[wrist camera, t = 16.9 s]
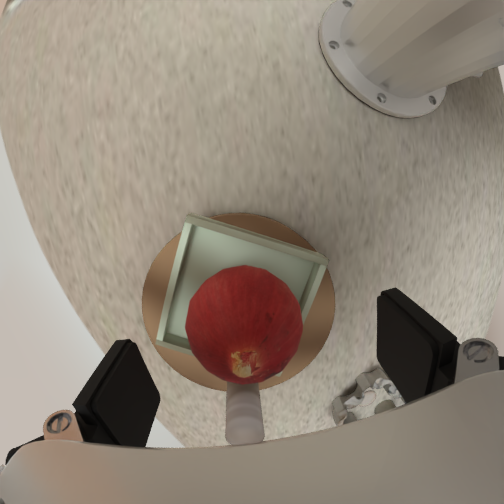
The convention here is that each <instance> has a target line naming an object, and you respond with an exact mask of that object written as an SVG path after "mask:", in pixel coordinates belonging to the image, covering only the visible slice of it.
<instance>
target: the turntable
mask: <svg viewBox="0 0 504 504" xmlns="http://www.w3.org/2000/svg"><path fill="white" fill-rule="evenodd" d="M328 262H329V259H327V258H326V257H325V256H323V255H322V254H320V253H317V252H316V250H315V249H314V248H313V247H312V246H311V245H310V244H309V243H308V242H307V241H306V240H305V239H303V238H302V237H301V236H300V235H298V234H297V233H296V232H294V231H293V230H291V229H290V228H288V227H287V226H285V225H283V224H281V223H280V222H277V221H275V220H272V219H270V218H267V217H263V216H259V215H255V214H247V213H228V214H222V215H216V216H213V217H210V218H207V217H203V216H200V215H197V214H193V213H190V214H188V215H187V216H186V220H185V223H184V227H183V230H182V232H181V233H179V234H178V235H177V236H176V237H174V238H173V239H172V240H171V241H170V242H169V243H168V244H167V245H166V246H165V247H164V248H163V249H162V250H161V251H160V253H159V254H158V255H157V257H156V258H155V260H154V262H153V263H152V265H151V267H150V269H149V272H148V274H147V276H146V280H145V283H144V287H143V295H142V313H143V319H144V323H145V327H146V330H147V333H148V335H149V337H150V340H151V342H152V344H153V345H154V347H155V348H156V350H157V352H158V353H159V354H160V355H161V357H162V358H163V359H164V360H165V361H166V362H167V363H168V364H169V365H170V366H171V367H172V368H173V369H174V370H176V371H177V372H178V373H180V374H181V375H182V376H184V377H186V378H187V379H189V380H191V381H193V382H195V383H197V384H200V385H202V386H205V387H208V388H211V389H215V390H221V391H227V396H226V430H225V438H226V440H227V441H228V442H229V443H230V444H231V445H238V444H247V443H255V442H262V441H263V440H264V437H265V434H264V426H263V418H262V410H261V401H260V393H259V390H262V389H266V388H269V387H272V386H275V385H278V384H280V383H282V382H284V381H286V380H288V379H290V378H292V377H293V376H295V375H296V374H298V373H299V372H300V371H302V370H303V369H304V368H305V367H306V366H308V365H309V364H310V362H311V361H312V360H313V359H314V358H315V357H316V356H317V354H318V353H319V352H320V350H321V349H322V347H323V345H324V344H325V342H326V340H327V338H328V336H329V333H330V330H331V328H332V324H333V319H334V313H335V294H334V288H333V283H332V280H331V277H330V274H329V271H328V269H327V265H328ZM241 265H248V266H253V267H257V268H262V269H266V270H267V271H269V272H270V273H272V274H273V275H275V276H276V277H278V278H279V279H281V280H282V281H283V282H285V283H286V284H287V285H288V287H289V288H290V290H291V291H292V293H293V294H294V296H295V297H296V299H297V300H298V303H299V305H300V309H301V315H302V321H303V332H302V335H301V339H300V343H299V346H298V350H297V352H296V353H295V355H294V356H293V357H292V359H291V360H290V362H289V363H288V364H287V366H286V367H285V368H284V370H283V371H282V372H280V373H278V374H276V375H275V376H273V377H271V378H269V379H267V380H265V381H263V382H260V383H253V384H245V385H241V384H236V383H232V382H227V381H223V380H221V379H220V378H218V377H216V376H215V375H213V374H211V373H210V372H208V371H207V370H206V369H205V368H204V367H203V366H202V365H201V363H200V362H199V361H198V360H197V358H196V357H195V356H194V355H193V353H192V351H191V348H190V344H189V341H188V337H187V334H186V330H185V323H186V318H187V312H188V307H189V302H190V299H191V298H192V297H193V295H194V294H195V293H196V291H197V290H198V289H199V287H200V286H201V285H202V284H203V283H204V281H205V280H206V279H208V278H210V277H211V276H213V275H214V274H216V273H218V272H219V271H221V270H222V269H225V268H230V267H236V266H241Z"/></svg>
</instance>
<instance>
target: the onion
mask: <svg viewBox="0 0 504 504" xmlns="http://www.w3.org/2000/svg"><path fill="white" fill-rule="evenodd" d="M185 330H186V334H187V337H188V341H189V344H190V348H191V351H192V353H193V355H194V356H195V357H196V358H197V360H198V361H199V362H200V363H201V365H202V366H203V367H204V368H205V369H206V370H207V371H208V372H210V373H211V374H213V375H215V376H216V377H218V378H220V379H221V380H223V381H227V382H232V383H236V384H241V385H245V384H253V383H260V382H263V381H265V380H267V379H269V378H271V377H273V376H275V375H276V374H278V373H280V372H282V371H283V370H284V368H285V367H286V366H287V364H288V363H289V362H290V360H291V359H292V357H293V356H294V355H295V353H296V352H297V350H298V346H299V343H300V339H301V335H302V332H303V321H302V315H301V309H300V305H299V303H298V300H297V299H296V297H295V296H294V294H293V293H292V291H291V290H290V288H289V287H288V285H287V284H286V283H285V282H283V281H282V280H281V279H279V278H278V277H276V276H275V275H273V274H272V273H270V272H269V271H267V270H266V269H262V268H257V267H253V266H248V265H241V266H236V267H230V268H225V269H222V270H221V271H219V272H218V273H216V274H214V275H213V276H211V277H210V278H208V279H206V280H205V281H204V283H203V284H202V285H201V286H200V287H199V289H198V290H197V291H196V293H195V294H194V295H193V297H192V298H191V299H190V302H189V307H188V312H187V318H186V323H185Z"/></svg>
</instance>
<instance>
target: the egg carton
mask: <svg viewBox="0 0 504 504" xmlns="http://www.w3.org/2000/svg"><path fill="white" fill-rule="evenodd" d="M356 381H357V383H358V386H357V388H356V390H355V391H354V392H353V393H352V394H350V395H348V396H338V397H337V398H336V399H335V400H333V401H332V404H333V406H334V410H333V411H332V413H333V417H334V421H335V423H336V425H337V426H340V425H344V424H347V423H351V422H354V421H357V419H356V417H355V416H354V414H353V413H352V412H347V409H352V408H354V407H356V406H362V407H363V406H367V405H369V404H371V403H372V402H373V401H374V400H375V399H376V393H375V392H374V391H366V392H364V391H365V390H366V389H367V388H369V387H371V388H372V389H374V388H376V389H380V388H381V387H384V388H385V390H386V391H387V393H388V394H389V395H391V396H393V397H394V399H397V398H400V397H401V399H402V400H403V402H404V403H405V404H406V402H405V401H404V399H403V398H402V396H401V395H400V393H399V391H398V390H397V388H396V387H395V385H394V384H393V382H392V381H391V380H389V378H388V377H387V376H386V374H385V373H384V372H383V371H382V370H381V369H379V368H377V369H376V370H374V371H373V372H370V373H362V374H361V375H359V376H358V377H357V378H356ZM346 408H347V409H346ZM393 408H396V406H395V405H394V403H393V402H392V401H391V400H385V401H383V402H381V403H379V404H378V405H377V406H376V408H375V414H379V413H382V412H385V411H388V410H390V409H393Z"/></svg>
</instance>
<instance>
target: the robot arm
mask: <svg viewBox="0 0 504 504" xmlns="http://www.w3.org/2000/svg"><path fill="white" fill-rule="evenodd" d="M319 42H320V45H321V49H322V52H323V55H324V57H325V59H326V61H327V63H328V65H329V66H330V68H331V69H332V71H333V72H334V74H335V75H336V77H337V78H338V79H339V80H340V81H341V82H342V83H343V84H344V86H345V87H346V88H347V89H348V90H349V91H351V92H352V93H353V94H354V95H355V96H356V97H358V98H359V99H360V100H362V101H363V102H365V103H366V104H368V105H369V106H371V107H372V108H374V109H376V110H379V111H381V112H383V113H385V114H388V115H392V116H395V117H401V118H415V117H420V116H423V115H426V114H429V113H430V112H432V111H434V110H435V109H436V108H437V107H438V106H439V105H440V104H441V103H442V101H443V99H444V97H445V94H446V89H447V85H449V84H452V83H454V82H457V81H460V80H462V79H465V78H467V77H470V76H473V77H477V78H479V77H481V76H482V74H483V71H486V70H489V69H492V68H495V67H498V66H500V65H503V64H504V0H337V1H335V2H334V3H332V4H331V5H330V6H329V7H328V9H327V10H326V11H325V13H324V15H323V17H322V19H321V22H320V26H319ZM378 100H379V101H378ZM377 359H378V361H379V363H380V365H381V366H382V367H383V369H384V370H385V372H386V373H387V375H388V376H389V378H390V379H391V381H392V382H393V384H394V385H395V387H396V388H397V390H398V391H399V393H400V395H401V396H402V398H403V399H404V401H405V402H406V404H404V405H401V406H399V407H396V408H393V409H390V410H388V411H385V412H382V413H379V414H376V415H373V416H370V417H367V418H364V419H361V420H357V421H354V422H351V423H347V424H344V425H340V426H336V427H332V428H328V429H324V430H320V431H316V432H311V433H307V434H302V435H297V436H292V437H287V438H281V439H275V440H269V441H262V442H255V443H247V444H238V445H227V446H214V447H194V448H151V447H145V446H146V443H147V440H148V437H149V434H150V431H151V427H152V424H153V421H154V418H155V415H156V412H157V409H158V406H159V403H160V394H159V392H158V390H157V388H156V386H155V384H154V381H153V379H152V377H151V375H150V373H149V371H148V369H147V367H146V365H145V362H144V360H143V358H142V356H141V353H140V351H139V349H138V347H137V345H136V343H134V342H132V341H131V340H130V339H126V340H116V341H115V343H114V344H113V345H112V347H111V348H110V350H109V351H108V352H107V354H106V355H105V357H104V358H103V360H102V361H101V362H100V364H99V365H98V367H97V368H96V370H95V371H94V373H93V374H92V376H91V377H90V378H89V380H88V381H87V383H86V384H85V386H84V387H83V389H82V391H81V392H80V394H79V395H78V396H77V398H76V399H75V401H74V403H73V404H72V405H73V406H74V408H75V409H76V412H75V414H74V413H73V412H72V411H70V410H60V411H57V412H55V413H53V414H51V415H50V416H49V417H48V418H47V419H46V420H45V422H44V425H43V432H44V435H43V436H41V437H38V438H36V439H35V440H32V441H30V442H28V443H25V444H23V445H21V446H19V447H16V448H13V449H11V450H10V451H9V453H8V456H7V458H6V466H4V465H2V466H0V504H504V357H501V356H498V350H497V347H496V346H495V345H494V344H493V343H492V342H490V341H489V340H486V339H482V338H472V339H468V340H466V341H464V342H463V343H462V344H459V343H458V342H457V337H456V336H455V335H453V334H452V333H451V332H450V331H449V330H448V329H446V328H445V327H444V326H443V325H442V324H440V323H439V322H438V321H437V320H436V319H434V318H433V317H432V316H431V315H430V314H428V313H427V312H426V311H425V310H424V309H422V308H421V307H420V306H419V305H417V304H416V303H415V302H414V301H412V300H411V299H410V298H409V297H407V296H406V295H405V294H404V293H402V292H401V291H400V290H398V289H397V288H392V289H388V290H385V291H382V292H381V296H378V297H377Z"/></svg>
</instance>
